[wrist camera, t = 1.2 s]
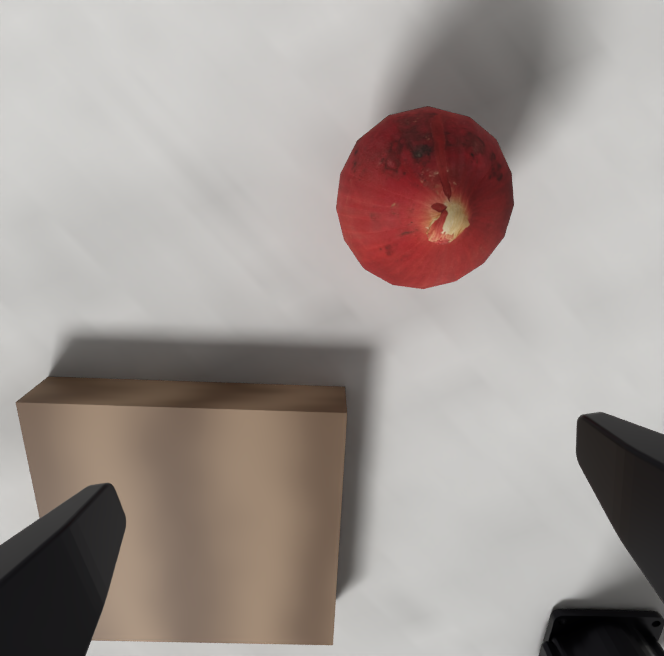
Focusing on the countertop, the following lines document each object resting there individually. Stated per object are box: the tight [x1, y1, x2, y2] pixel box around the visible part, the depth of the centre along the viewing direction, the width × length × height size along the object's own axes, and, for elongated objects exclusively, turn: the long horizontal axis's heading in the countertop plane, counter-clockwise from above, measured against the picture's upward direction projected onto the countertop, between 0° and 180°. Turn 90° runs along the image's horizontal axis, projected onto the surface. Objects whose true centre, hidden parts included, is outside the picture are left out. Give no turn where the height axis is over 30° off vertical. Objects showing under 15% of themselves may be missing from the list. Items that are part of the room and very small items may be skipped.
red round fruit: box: [336, 106, 514, 289], centre depth 16 cm, size 6×6×8 cm
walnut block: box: [16, 377, 347, 645], centre depth 24 cm, size 14×14×3 cm
